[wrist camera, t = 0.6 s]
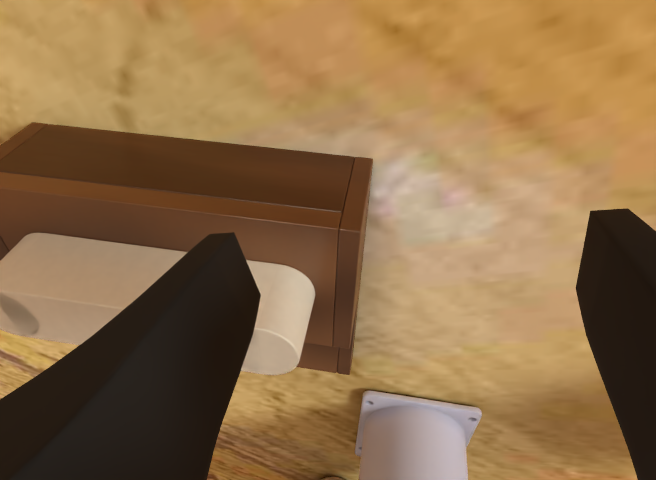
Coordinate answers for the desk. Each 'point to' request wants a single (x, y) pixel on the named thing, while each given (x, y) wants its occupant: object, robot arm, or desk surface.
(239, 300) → the robot arm
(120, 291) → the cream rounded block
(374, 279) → the desk surface
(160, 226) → the stepped wooden block
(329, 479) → the fossil replica
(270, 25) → the desk surface
